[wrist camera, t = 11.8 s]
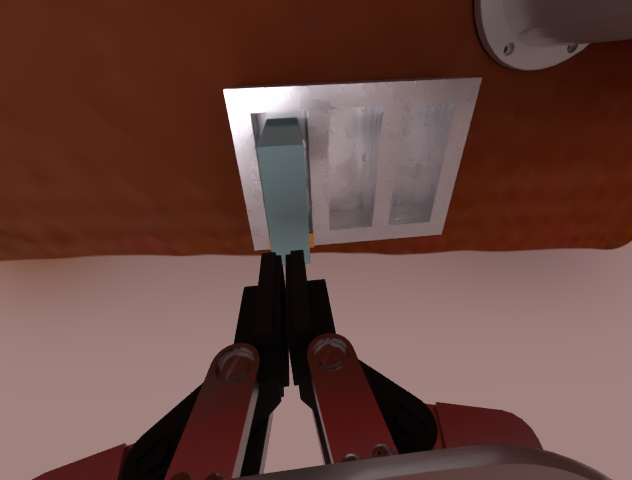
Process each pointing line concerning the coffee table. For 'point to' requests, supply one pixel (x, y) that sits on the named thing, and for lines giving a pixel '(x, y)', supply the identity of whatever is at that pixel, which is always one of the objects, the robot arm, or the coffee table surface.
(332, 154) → the frame
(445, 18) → the coffee table surface
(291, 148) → the panel
